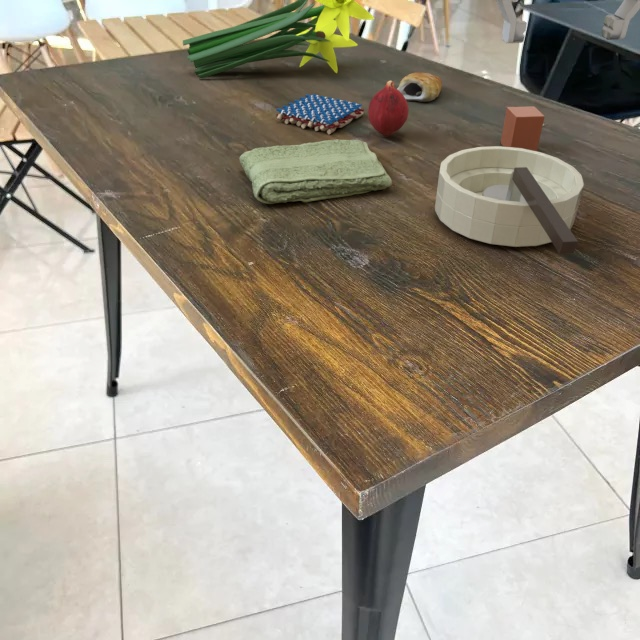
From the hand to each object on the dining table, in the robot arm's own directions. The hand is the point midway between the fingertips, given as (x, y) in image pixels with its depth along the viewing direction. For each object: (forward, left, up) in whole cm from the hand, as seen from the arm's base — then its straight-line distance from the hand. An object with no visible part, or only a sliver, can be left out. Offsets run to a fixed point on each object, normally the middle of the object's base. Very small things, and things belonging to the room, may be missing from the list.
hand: (562, 40), depth 59 cm
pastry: (0, -49, -21) cm, 54 cm away
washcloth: (+21, -17, -21) cm, 35 cm away
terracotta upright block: (-9, -25, -21) cm, 34 cm away
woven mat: (+18, -39, -21) cm, 48 cm away
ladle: (0, +1, -21) cm, 21 cm away
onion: (+9, -31, -21) cm, 39 cm away
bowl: (0, -5, -21) cm, 22 cm away
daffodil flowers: (+24, -63, -21) cm, 71 cm away
